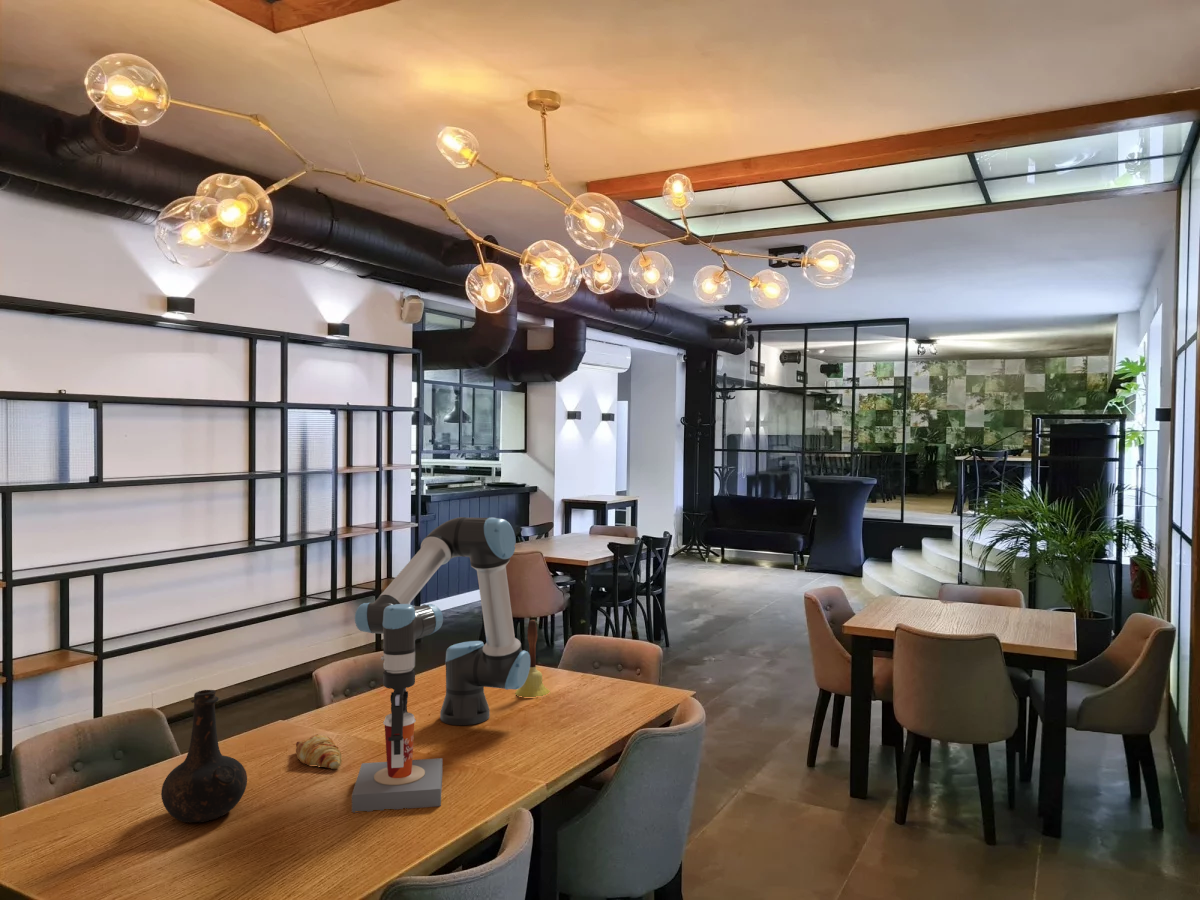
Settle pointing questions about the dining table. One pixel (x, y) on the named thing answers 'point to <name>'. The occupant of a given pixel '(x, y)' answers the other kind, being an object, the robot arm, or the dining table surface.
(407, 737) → the paper cup
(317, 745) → the croissant
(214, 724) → the glass bottle
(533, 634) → the handbell
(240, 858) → the dining table surface
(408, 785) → the plinth
